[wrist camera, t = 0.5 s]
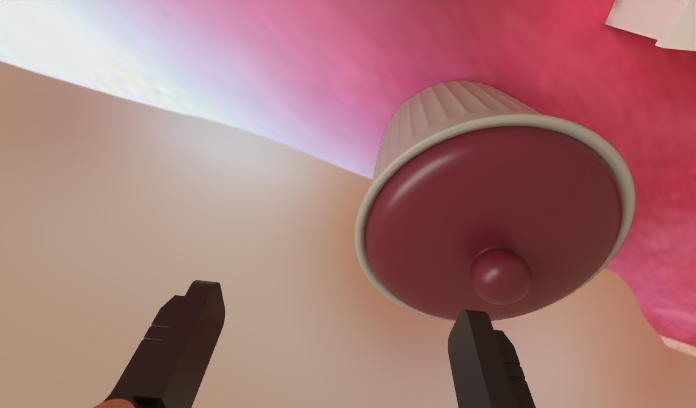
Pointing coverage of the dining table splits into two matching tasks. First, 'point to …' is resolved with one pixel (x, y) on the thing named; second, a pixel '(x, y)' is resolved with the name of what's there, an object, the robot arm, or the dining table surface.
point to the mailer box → (642, 16)
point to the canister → (489, 205)
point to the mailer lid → (680, 28)
